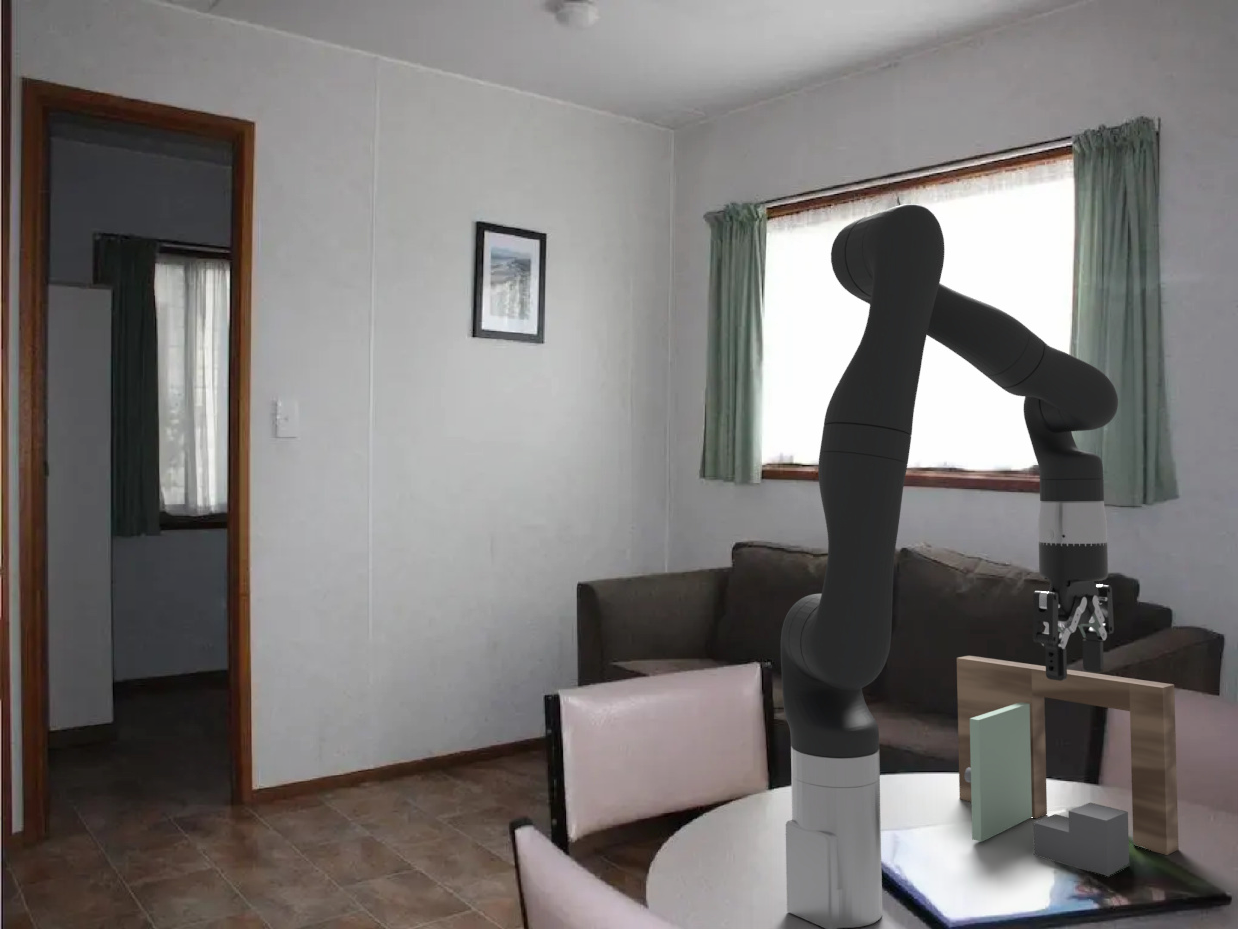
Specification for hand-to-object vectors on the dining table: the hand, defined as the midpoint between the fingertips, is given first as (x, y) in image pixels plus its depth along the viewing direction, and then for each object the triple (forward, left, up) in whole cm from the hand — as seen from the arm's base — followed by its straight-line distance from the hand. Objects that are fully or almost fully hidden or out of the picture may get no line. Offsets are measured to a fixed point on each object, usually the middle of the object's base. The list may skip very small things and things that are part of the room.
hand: (1075, 675), depth 120 cm
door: (+2, +12, -21) cm, 24 cm away
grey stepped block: (0, 0, -22) cm, 22 cm away
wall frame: (+11, +9, -22) cm, 26 cm away
